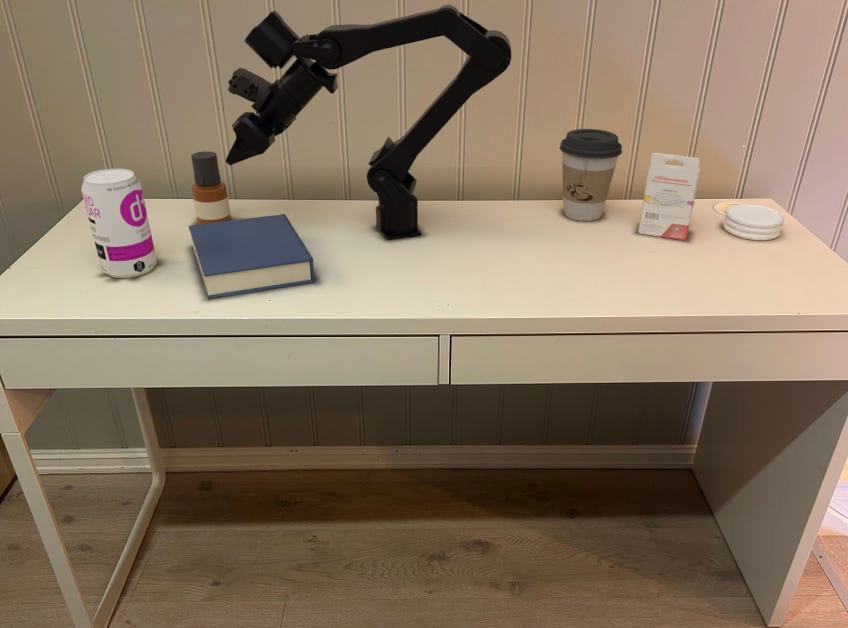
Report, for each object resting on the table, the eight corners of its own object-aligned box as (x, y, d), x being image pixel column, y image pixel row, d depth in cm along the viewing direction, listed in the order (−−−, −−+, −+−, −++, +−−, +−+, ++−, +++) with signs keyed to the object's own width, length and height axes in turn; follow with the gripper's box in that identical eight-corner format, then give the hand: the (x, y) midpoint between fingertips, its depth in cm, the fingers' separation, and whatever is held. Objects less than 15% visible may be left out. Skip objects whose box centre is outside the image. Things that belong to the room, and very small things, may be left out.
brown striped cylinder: (228, 215, 136) (221, 167, 131) (233, 227, 131) (226, 177, 126) (195, 219, 134) (187, 171, 129) (199, 231, 129) (191, 181, 124)
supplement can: (168, 262, 118) (150, 171, 110) (134, 283, 111) (112, 187, 103) (127, 254, 120) (106, 164, 112) (90, 275, 114) (66, 180, 106)
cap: (218, 177, 131) (214, 150, 128) (222, 184, 128) (218, 157, 125) (194, 179, 129) (189, 152, 127) (197, 187, 126) (192, 159, 124)
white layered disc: (749, 244, 129) (754, 226, 127) (711, 225, 137) (715, 207, 135) (791, 236, 133) (797, 218, 131) (751, 218, 140) (756, 200, 138)
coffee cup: (545, 219, 137) (553, 139, 130) (561, 200, 146) (569, 124, 138) (605, 229, 134) (617, 147, 126) (618, 209, 143) (629, 131, 135)
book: (286, 235, 128) (284, 213, 126) (315, 282, 113) (313, 258, 111) (192, 248, 123) (188, 225, 121) (208, 299, 108) (204, 274, 105)
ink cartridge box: (688, 231, 134) (705, 151, 126) (685, 241, 130) (702, 159, 122) (641, 224, 136) (654, 145, 129) (636, 233, 132) (650, 152, 125)
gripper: (271, 42, 124) (216, 106, 131) (237, 62, 109) (177, 134, 115) (320, 92, 128) (265, 152, 135) (294, 119, 112) (233, 185, 119)
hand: (236, 155), depth 126 cm, fingers open, 9 cm apart
